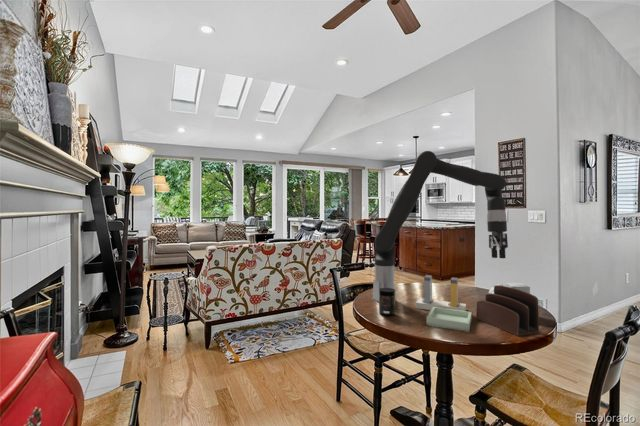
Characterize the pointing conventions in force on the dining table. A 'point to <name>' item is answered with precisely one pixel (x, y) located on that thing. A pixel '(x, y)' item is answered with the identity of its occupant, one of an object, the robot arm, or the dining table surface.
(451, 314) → the tray
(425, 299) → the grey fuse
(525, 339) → the dining table surface
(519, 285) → the supplement box
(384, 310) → the supplement container
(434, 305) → the block
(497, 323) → the letter holder
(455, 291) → the yellow grey long block
